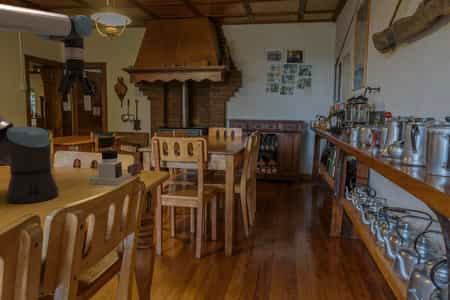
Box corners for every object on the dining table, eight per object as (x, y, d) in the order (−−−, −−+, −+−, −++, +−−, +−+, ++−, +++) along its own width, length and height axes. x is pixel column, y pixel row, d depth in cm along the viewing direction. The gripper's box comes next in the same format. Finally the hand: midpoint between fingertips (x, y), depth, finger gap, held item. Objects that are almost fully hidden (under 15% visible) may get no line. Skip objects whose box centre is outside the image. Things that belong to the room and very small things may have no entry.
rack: (130, 177, 140) (130, 166, 140) (104, 176, 143) (103, 165, 142) (141, 172, 150) (140, 162, 149) (116, 171, 153) (116, 161, 152)
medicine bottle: (116, 181, 129) (114, 151, 128) (98, 181, 129) (96, 151, 128) (122, 177, 136) (121, 149, 135) (105, 177, 137) (104, 149, 135)
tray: (116, 185, 126) (116, 179, 126) (88, 183, 128) (88, 178, 128) (131, 178, 138) (131, 173, 137) (105, 177, 140) (105, 172, 140)
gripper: (62, 54, 124) (65, 110, 126) (100, 63, 148) (102, 110, 151) (45, 55, 125) (49, 110, 128) (85, 63, 149) (88, 110, 152)
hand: (78, 110), depth 139 cm, fingers open, 13 cm apart
